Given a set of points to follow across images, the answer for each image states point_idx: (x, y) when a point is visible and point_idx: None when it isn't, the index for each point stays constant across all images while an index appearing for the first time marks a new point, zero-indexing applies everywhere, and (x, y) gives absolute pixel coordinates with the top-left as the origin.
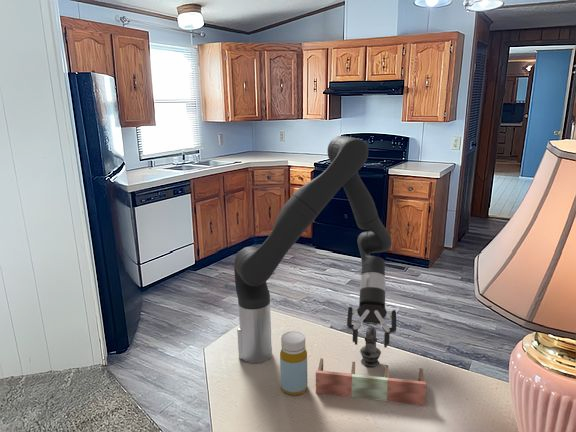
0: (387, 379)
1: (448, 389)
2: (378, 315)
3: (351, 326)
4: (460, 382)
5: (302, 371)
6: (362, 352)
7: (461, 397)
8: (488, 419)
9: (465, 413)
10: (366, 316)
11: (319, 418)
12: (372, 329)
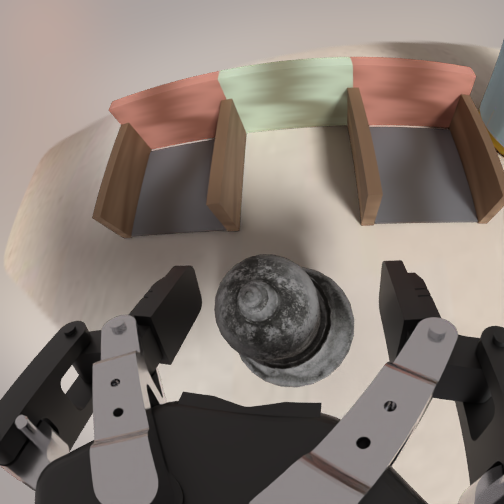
0: (219, 73)
1: (76, 221)
2: (118, 439)
3: (470, 349)
4: (46, 258)
5: (498, 57)
6: (339, 302)
7: (66, 200)
8: (59, 154)
9: (82, 152)
10: (312, 453)
11: (402, 56)
12: (246, 280)
